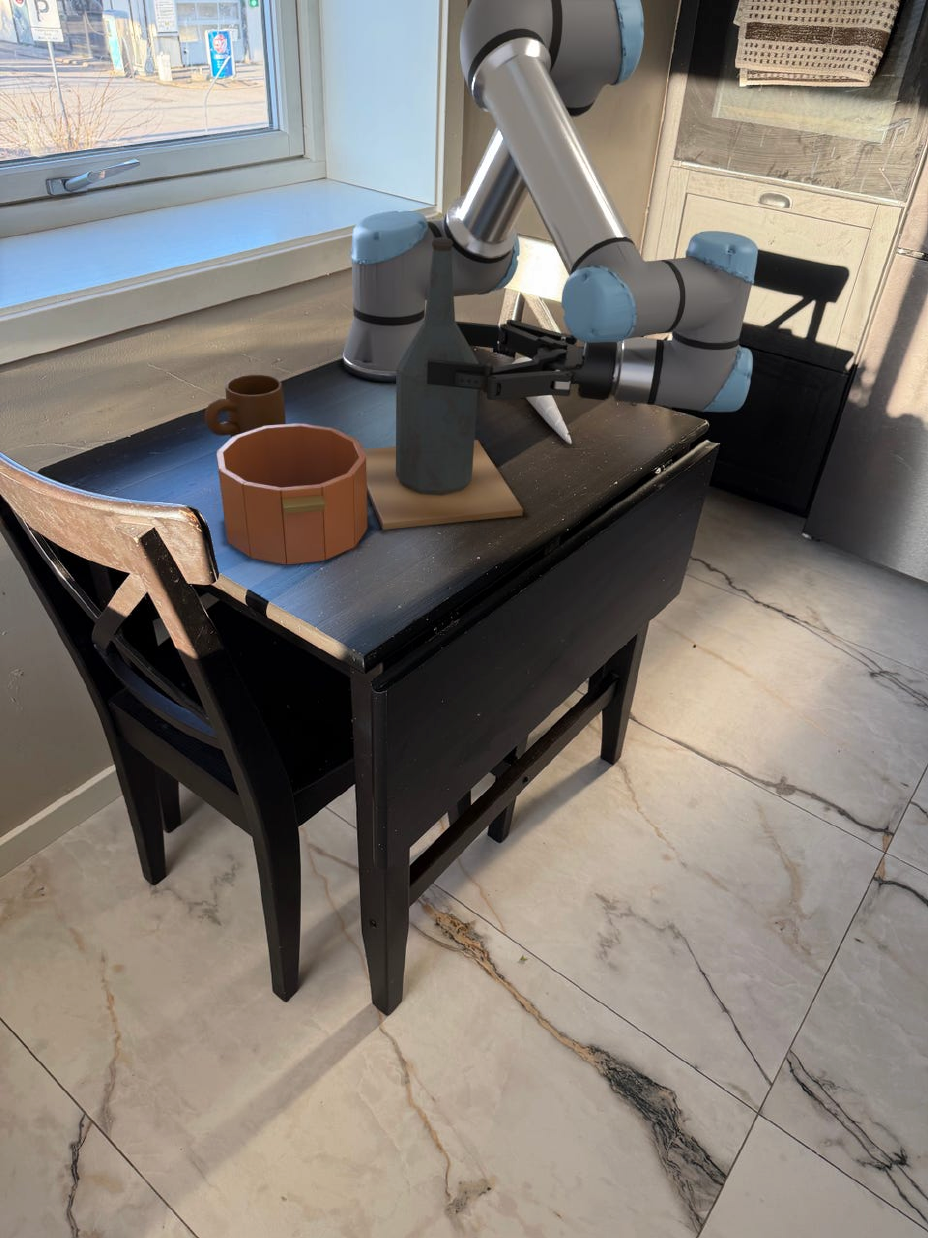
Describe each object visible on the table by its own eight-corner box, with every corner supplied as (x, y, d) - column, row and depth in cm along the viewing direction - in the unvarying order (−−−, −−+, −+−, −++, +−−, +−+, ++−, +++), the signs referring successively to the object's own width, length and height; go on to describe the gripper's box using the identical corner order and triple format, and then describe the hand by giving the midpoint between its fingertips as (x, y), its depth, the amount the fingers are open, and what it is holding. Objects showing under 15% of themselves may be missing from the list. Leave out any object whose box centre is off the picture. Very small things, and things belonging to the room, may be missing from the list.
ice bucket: (220, 491, 116) (211, 422, 110) (349, 480, 120) (347, 412, 114) (233, 580, 100) (223, 505, 94) (381, 564, 104) (380, 491, 99)
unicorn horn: (545, 448, 130) (549, 417, 128) (506, 384, 149) (508, 355, 146) (577, 446, 131) (581, 415, 128) (534, 383, 150) (537, 354, 147)
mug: (231, 478, 119) (223, 411, 113) (194, 460, 122) (184, 394, 117) (299, 449, 126) (295, 384, 121) (262, 432, 130) (256, 369, 124)
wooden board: (352, 456, 125) (352, 449, 125) (477, 446, 130) (477, 439, 129) (382, 530, 110) (382, 523, 110) (522, 515, 115) (523, 508, 114)
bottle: (448, 455, 125) (458, 224, 107) (487, 485, 119) (505, 245, 101) (381, 470, 120) (381, 232, 102) (419, 503, 114) (424, 254, 96)
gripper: (607, 442, 100) (418, 422, 102) (611, 361, 120) (452, 345, 121) (618, 377, 95) (419, 356, 97) (620, 304, 115) (454, 288, 117)
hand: (437, 350), depth 109 cm, fingers open, 13 cm apart
